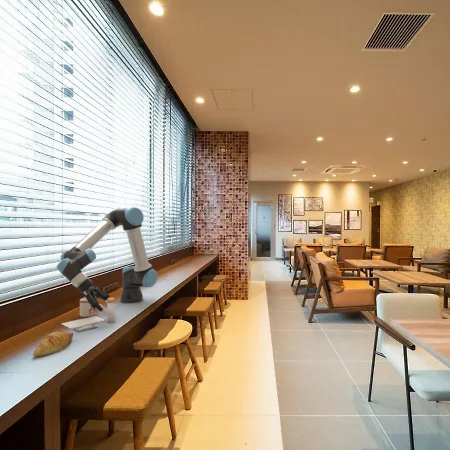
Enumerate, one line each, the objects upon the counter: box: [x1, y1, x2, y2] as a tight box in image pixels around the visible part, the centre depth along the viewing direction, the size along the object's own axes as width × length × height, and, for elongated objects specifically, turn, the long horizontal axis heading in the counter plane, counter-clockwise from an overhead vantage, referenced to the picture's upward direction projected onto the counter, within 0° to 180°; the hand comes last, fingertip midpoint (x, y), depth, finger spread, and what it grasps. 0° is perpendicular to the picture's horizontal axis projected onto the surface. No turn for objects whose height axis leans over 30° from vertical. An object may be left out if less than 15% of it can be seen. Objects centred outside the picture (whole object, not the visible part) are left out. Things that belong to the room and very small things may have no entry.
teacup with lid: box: [78, 296, 97, 318], centre depth 180 cm, size 12×9×12 cm
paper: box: [61, 315, 107, 330], centre depth 165 cm, size 18×12×1 cm, turn 138°
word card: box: [73, 324, 98, 333], centre depth 154 cm, size 9×6×1 cm, turn 138°
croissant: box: [32, 330, 74, 357], centre depth 129 cm, size 21×10×8 cm, turn 170°
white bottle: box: [106, 297, 116, 324], centre depth 165 cm, size 4×4×12 cm
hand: (111, 311), depth 165 cm, fingers open, 13 cm apart
